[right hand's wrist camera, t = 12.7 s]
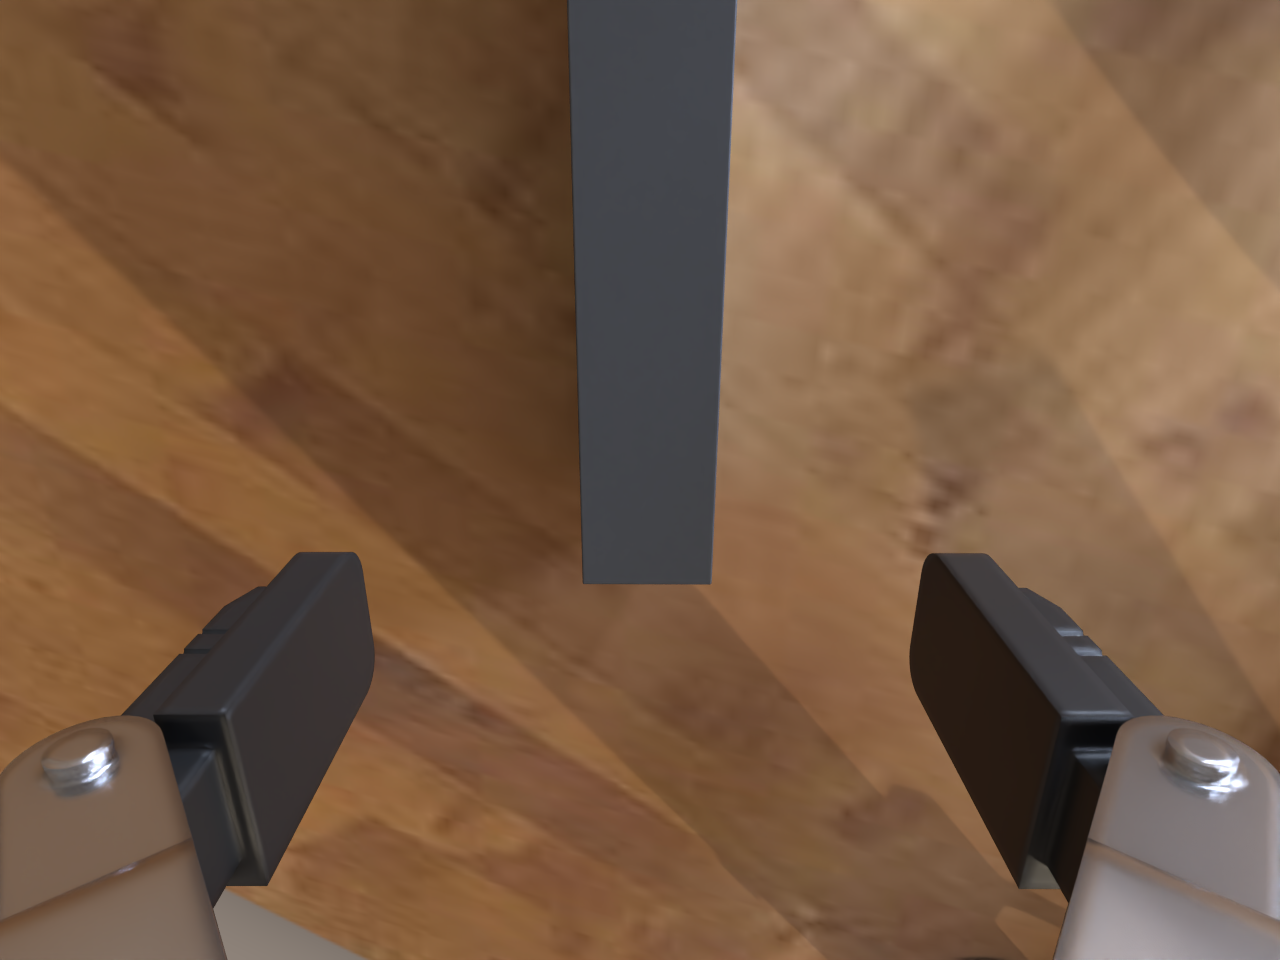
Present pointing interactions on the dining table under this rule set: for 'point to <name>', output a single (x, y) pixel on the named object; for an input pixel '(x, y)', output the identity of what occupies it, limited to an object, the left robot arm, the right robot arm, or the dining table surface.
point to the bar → (649, 278)
